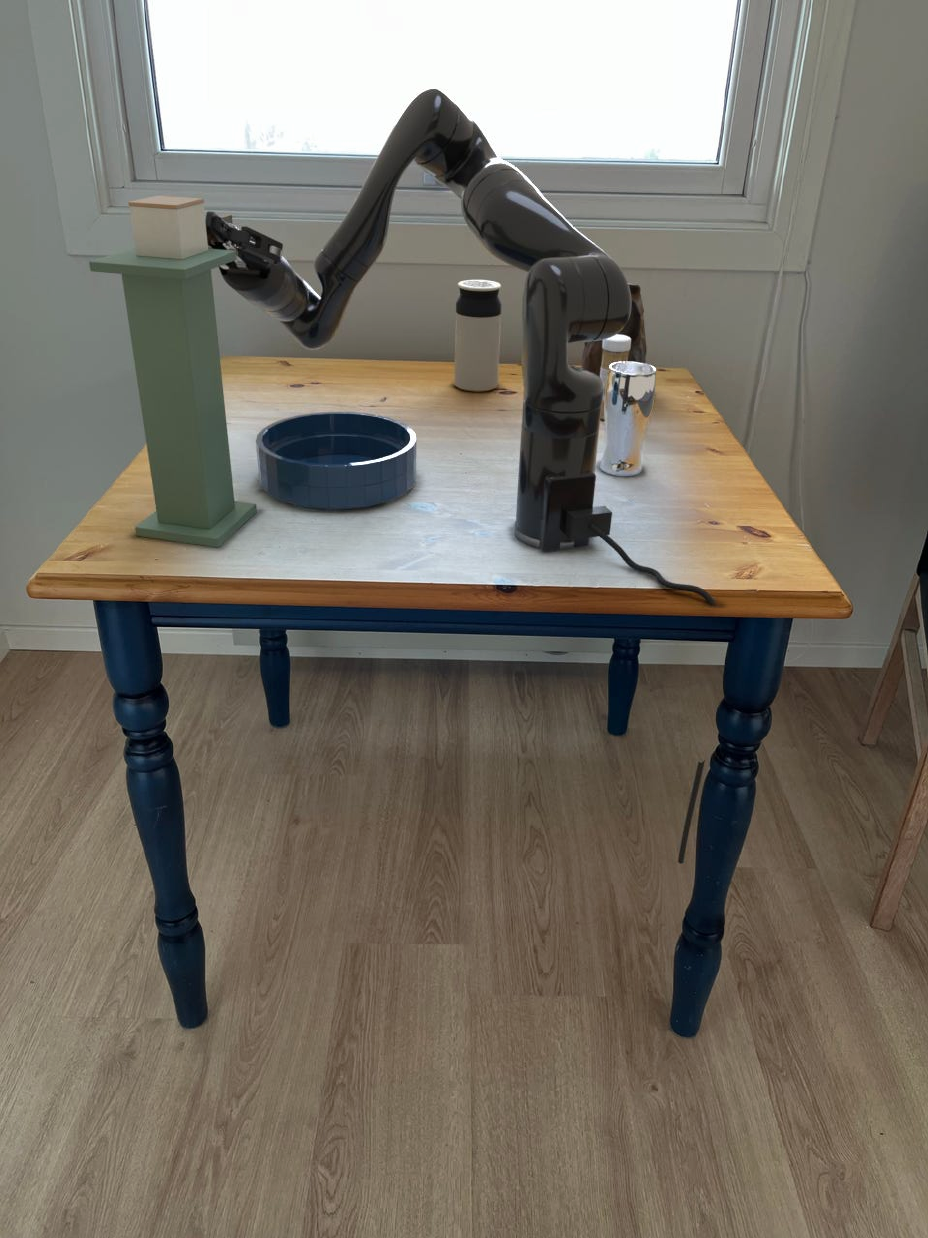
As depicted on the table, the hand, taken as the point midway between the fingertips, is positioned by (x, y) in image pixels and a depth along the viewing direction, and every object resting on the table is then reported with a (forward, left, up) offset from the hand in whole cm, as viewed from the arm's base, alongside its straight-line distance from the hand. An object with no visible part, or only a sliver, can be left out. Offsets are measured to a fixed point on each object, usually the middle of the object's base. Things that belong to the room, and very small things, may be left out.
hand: (199, 218), depth 109 cm
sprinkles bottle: (+18, -65, -35) cm, 76 cm away
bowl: (+2, -15, -35) cm, 38 cm away
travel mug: (+40, -49, -35) cm, 72 cm away
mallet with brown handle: (-1, +1, -3) cm, 3 cm away
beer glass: (-4, -56, -35) cm, 66 cm away
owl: (+30, -73, -35) cm, 87 cm away
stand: (-7, +5, -35) cm, 36 cm away
